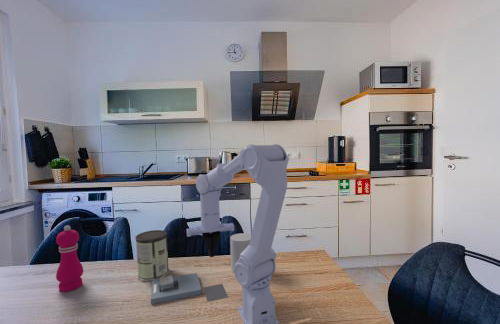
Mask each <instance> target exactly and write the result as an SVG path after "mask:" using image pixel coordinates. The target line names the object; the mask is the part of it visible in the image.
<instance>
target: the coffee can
mask: <svg viewBox="0 0 500 324" xmlns="http://www.w3.org/2000/svg"><path fill="white" fill-rule="evenodd" d="M134 238H135V244H136V245H135V246H136V249H135V250H136V263H137V266H136V267H137V279H138V280H139V281H141V282H147V281H153V280H158V279H160V278H161V277H166V275H168V274H169V271H170V270H169V256H168V255H169V254H168V251H169V250H168V231H165V230H162V229H161V230H159V229H157V230H153V229H152V230H148V231H143V232H140V233H139V234H137V235H136V236H135V237H134Z"/></svg>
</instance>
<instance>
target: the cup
mask: <svg viewBox="0 0 500 324" xmlns="http://www.w3.org/2000/svg"><path fill="white" fill-rule="evenodd" d="M251 234H252V233H251ZM251 234H250V233H246V232H244V233H242V232H241V233H240V232H239V233H235V234H232V235H230V239H229V241H230V242H229V244H230V270H231V273H233V274H234V275H235V273H234V267H235V264H236V262H237V261H238V260H239V257H240V254H241V253H242V252H243V251H244V250H245V249H246V248H247V247H248V245H249V243H250V238H251Z"/></svg>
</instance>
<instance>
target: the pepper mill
mask: <svg viewBox="0 0 500 324" xmlns="http://www.w3.org/2000/svg"><path fill="white" fill-rule="evenodd" d="M79 240H80V234H79V233H78V231H77V230H75V229H71V226H70V225H64V227H63V231H61V232H59V233H58V234H57V236H56V240H55V241H56V244H57V245H58V246H59V247H58V252H59V253H60V262H59V265H58V267H57V269H56V274H55V279H56V281H58V282H59V283H58V291H60V292H71V291H74V290H77V289H78V288H80V287H81V286H82V285H83V278H82V275H83V274H84V267H83V265H82V264H83V263H81V261H80V259H79V257H78V253H77V250H78V249H79V248H78V247H79V244H78V241H79Z"/></svg>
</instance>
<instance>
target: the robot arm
mask: <svg viewBox="0 0 500 324" xmlns="http://www.w3.org/2000/svg"><path fill="white" fill-rule="evenodd" d="M239 152H240V153H239V154H237V155H236V156H235V157H234V158H233V159H232V160H230V161H229V162H228V163H222V162H220V163H216V167H215V168H213V169H210V170H208V173H207V174H198V176H197V177H196V180H195V187H196V190H197V192H198V193H199V196H200V201H199V202H200V222H201V225H199V226H194V227H190V228H186V237H188V238H189V237H192V236H199V235H200V236H202V238H203V240H204V243H205V244H206V247H207V251H208V256H209V258H214V257H215V254H216V250H217V247H218V246H217V245H218V244H219V241H220V239H221V237H222V234H221V232H229V231H230V232H234V231H235V225H234V223H233V222H232V223H221V219H220V218H221V217H220V197H221V195H222V189H223V187H224V186H226V185H228V184H229V183H231V182H232V181H233V180H234V177H235V175H236V174H239V173H240V172H242V171H244V170H246V171H247V173H248V174H249V175H250V177H251V178H252V179H253V181H254V182H255V183H256V184H257V185H260V187H261V191H260V196H259V199H258V200H259V201H258V205H257V209H256V213H255V217H254V222H253V225H252V226H253V227H252V231H251V238H250V243H249V245H248V247H247V248H246V249H245V250H244V251H243V252H242V253H241V254H240V257H239V260H238V261H237V262H236V264H235V267H234V273H235V274H234V273H233V274H234V277H235V279H236V281H237V283H238V284H240V285H241V302H242V305H241V306H239V307H237V311H238V313H239V315H240V318H241V319H242V321H243V323H244V324H280V321H279V320H278V318H277V317H276V300H275V297H274V295H273V293H272V291H271V280H272V279H273V277H272V275H273V274H274V273H275V272H276V270H277V269H276V268H277V264H276V256H277V253H276V251H275V250H274V249H273V248H272V247H273V242H274V238H275V234H276V230H277V228H278V223H279V221H280V215H281V211H282V208H283V204H284V201H285V196H286V192H287V190H288V176H287V175H288V174H287V168H288V164H289V160H290V158H289V156H288V154H287V152H286V150H285V148H284V147H283V146H282V145H280V144H276V143H275V144H263V145H262V144H261V145H259V144H258V145H257V144H248V145H246V146H245V147H244V148H242V149H240V151H239Z"/></svg>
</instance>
